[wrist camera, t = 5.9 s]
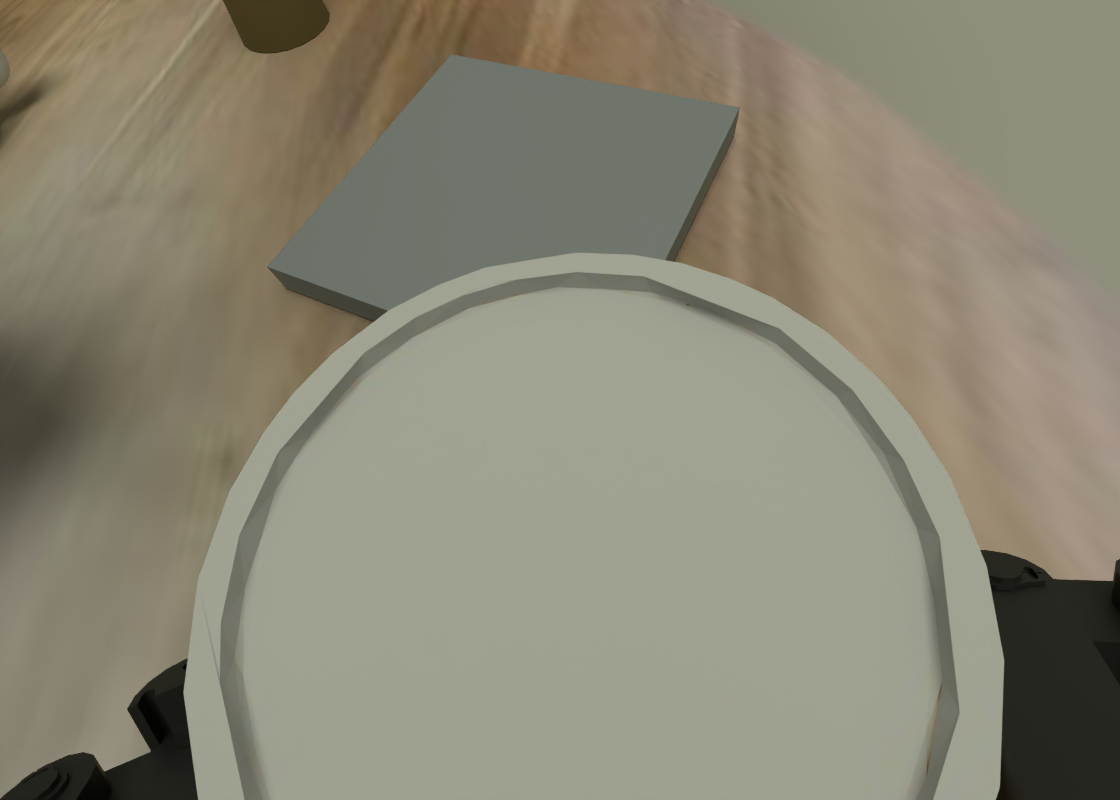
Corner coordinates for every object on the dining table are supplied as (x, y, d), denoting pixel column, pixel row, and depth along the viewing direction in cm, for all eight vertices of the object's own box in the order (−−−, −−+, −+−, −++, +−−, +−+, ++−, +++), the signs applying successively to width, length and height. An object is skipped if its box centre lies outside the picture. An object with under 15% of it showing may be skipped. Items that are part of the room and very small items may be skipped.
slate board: (286, 288, 24) (267, 266, 23) (458, 81, 30) (451, 54, 29) (603, 407, 20) (602, 388, 18) (733, 136, 26) (739, 107, 24)
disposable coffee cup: (415, 769, 15) (-67, 1005, 5) (494, 461, 19) (334, 210, 9) (758, 858, 14) (1253, 1565, 3) (765, 501, 18) (979, 248, 7)
